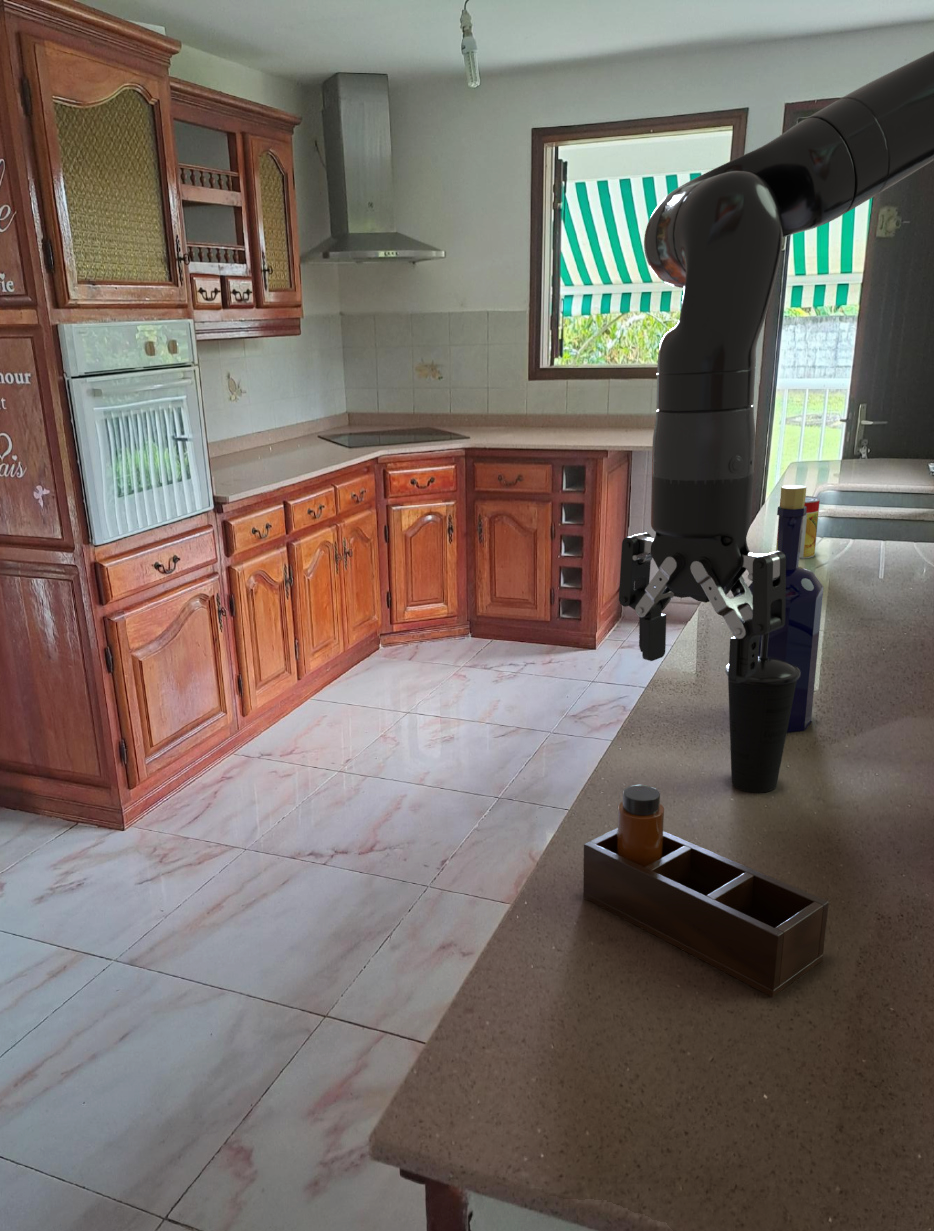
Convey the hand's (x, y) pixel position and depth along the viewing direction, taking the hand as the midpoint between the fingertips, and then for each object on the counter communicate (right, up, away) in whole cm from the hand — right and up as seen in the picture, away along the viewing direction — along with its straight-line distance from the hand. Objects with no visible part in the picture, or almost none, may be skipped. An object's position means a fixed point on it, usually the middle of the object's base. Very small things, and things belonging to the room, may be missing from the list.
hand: (695, 668), depth 82 cm
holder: (+1, -22, +5) cm, 23 cm away
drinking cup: (+15, -12, +30) cm, 36 cm away
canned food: (+60, +29, +133) cm, 148 cm away
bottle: (+24, -5, +47) cm, 53 cm away
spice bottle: (-3, -20, +9) cm, 22 cm away
